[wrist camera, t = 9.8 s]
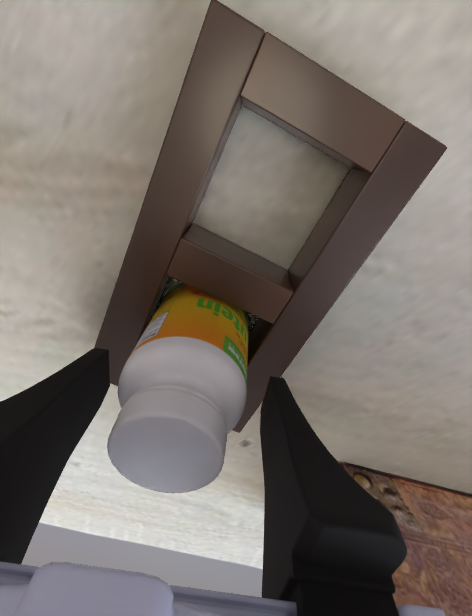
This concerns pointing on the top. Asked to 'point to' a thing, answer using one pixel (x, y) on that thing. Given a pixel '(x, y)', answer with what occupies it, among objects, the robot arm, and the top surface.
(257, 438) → the top surface
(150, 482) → the supplement bottle
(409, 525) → the book
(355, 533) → the robot arm
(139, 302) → the hole block
